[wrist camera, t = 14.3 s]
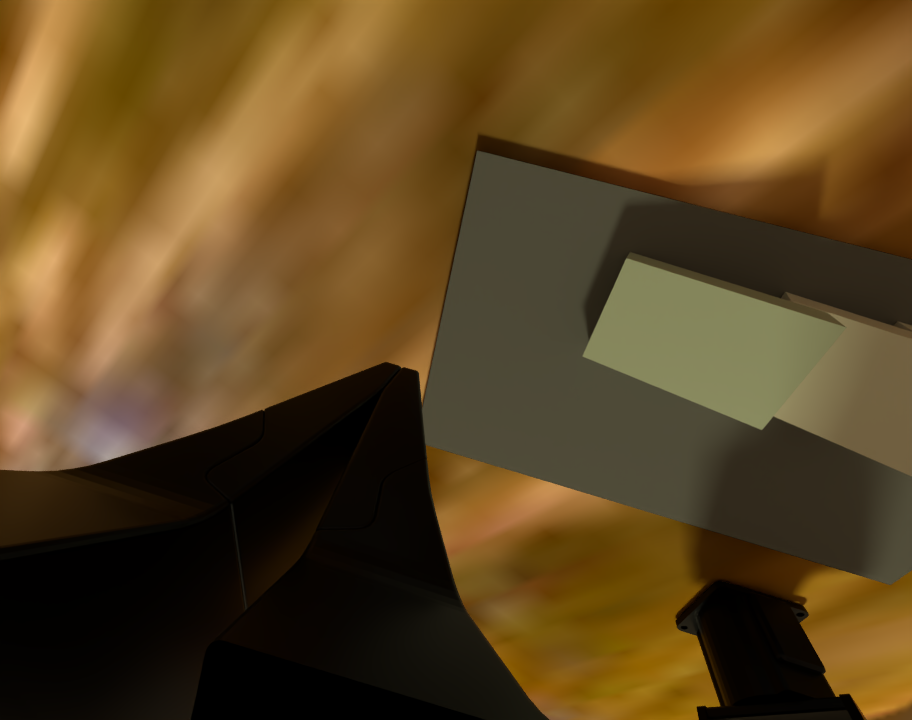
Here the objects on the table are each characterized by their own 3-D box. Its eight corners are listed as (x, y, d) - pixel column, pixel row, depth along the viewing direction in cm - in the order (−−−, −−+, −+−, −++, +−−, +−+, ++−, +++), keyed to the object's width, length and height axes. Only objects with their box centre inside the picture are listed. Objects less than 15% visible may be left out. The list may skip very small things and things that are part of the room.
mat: (882, 575, 25) (890, 584, 24) (417, 436, 26) (415, 441, 26) (1219, 336, 16) (1242, 342, 15) (478, 150, 18) (477, 150, 17)
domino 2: (724, 379, 20) (920, 462, 17) (723, 394, 18) (940, 488, 15) (785, 291, 17) (1030, 369, 14) (791, 300, 16) (1067, 389, 13)
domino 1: (589, 343, 20) (753, 408, 18) (582, 356, 19) (761, 430, 16) (630, 251, 18) (827, 313, 15) (626, 258, 16) (846, 327, 14)
